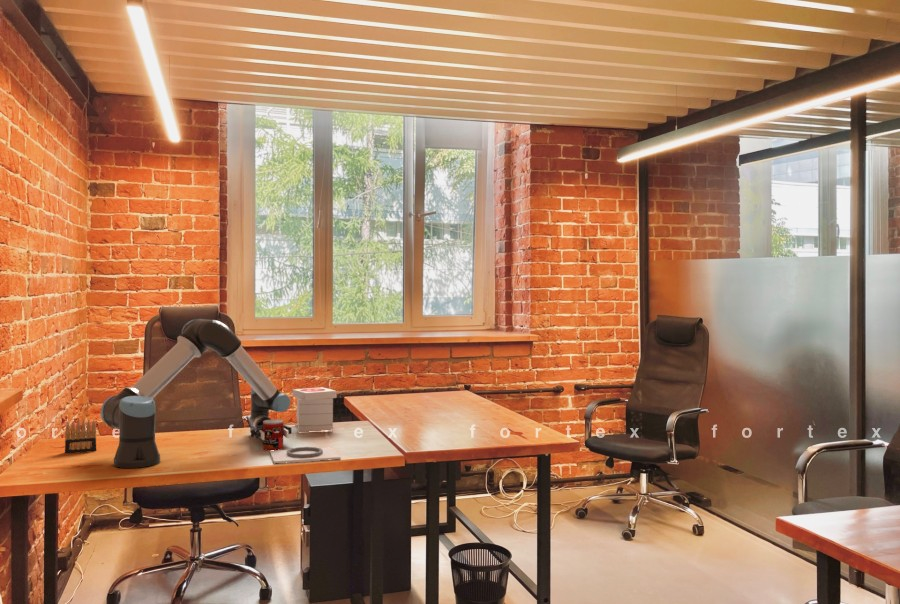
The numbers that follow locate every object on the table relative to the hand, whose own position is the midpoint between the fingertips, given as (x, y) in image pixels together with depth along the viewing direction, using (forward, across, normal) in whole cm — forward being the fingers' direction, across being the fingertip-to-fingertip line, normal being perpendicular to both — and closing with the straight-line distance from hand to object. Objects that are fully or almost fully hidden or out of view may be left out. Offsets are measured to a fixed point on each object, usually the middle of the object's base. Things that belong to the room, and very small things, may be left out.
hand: (275, 435), depth 267 cm
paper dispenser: (-42, -26, -6) cm, 50 cm away
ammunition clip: (-28, +68, -6) cm, 74 cm away
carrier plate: (+14, -8, -6) cm, 17 cm away
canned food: (-5, 0, -6) cm, 8 cm away
